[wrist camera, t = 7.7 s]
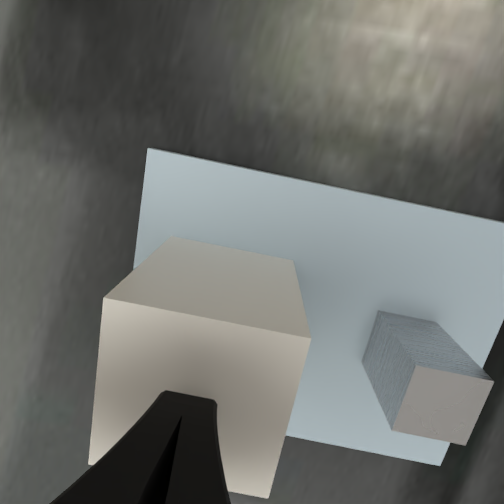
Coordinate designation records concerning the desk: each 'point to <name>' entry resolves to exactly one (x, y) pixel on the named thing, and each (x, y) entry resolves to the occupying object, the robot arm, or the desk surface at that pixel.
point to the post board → (339, 277)
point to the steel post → (424, 378)
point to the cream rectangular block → (205, 350)
